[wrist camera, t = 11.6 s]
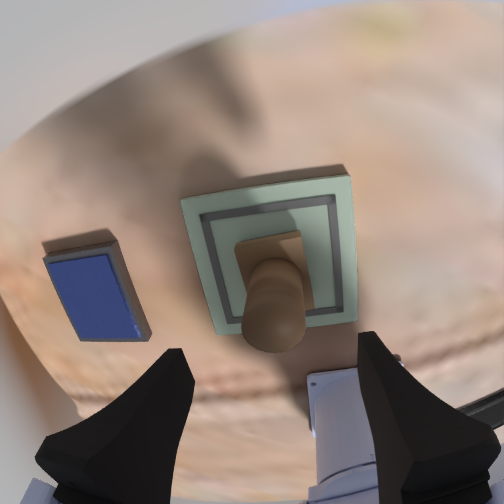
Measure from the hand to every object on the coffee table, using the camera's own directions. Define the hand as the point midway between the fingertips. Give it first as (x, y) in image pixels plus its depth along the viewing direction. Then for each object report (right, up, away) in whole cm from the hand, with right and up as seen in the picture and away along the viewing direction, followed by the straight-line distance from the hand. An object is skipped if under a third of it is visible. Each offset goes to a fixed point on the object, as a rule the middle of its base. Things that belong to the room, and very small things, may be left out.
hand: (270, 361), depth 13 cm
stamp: (+1, +3, +8) cm, 8 cm away
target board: (+1, +4, +8) cm, 9 cm away
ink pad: (-13, +1, +11) cm, 17 cm away
